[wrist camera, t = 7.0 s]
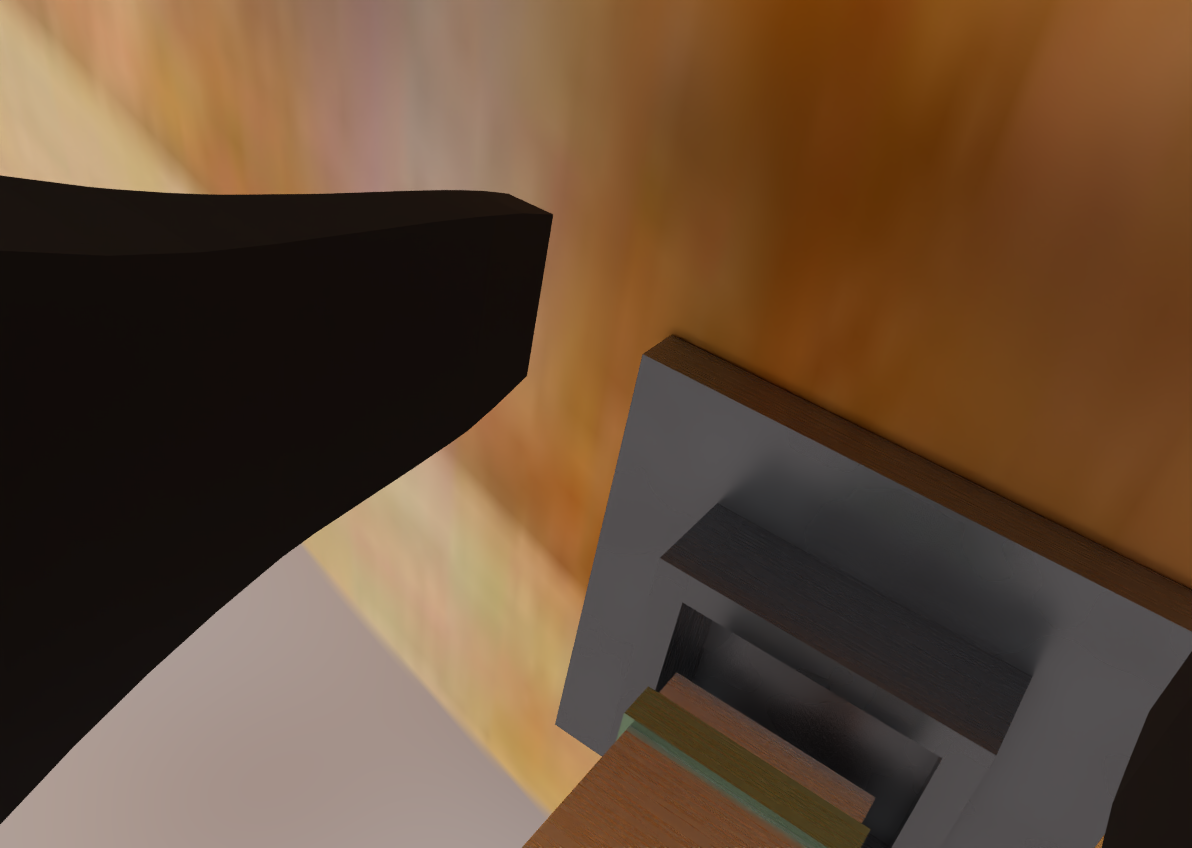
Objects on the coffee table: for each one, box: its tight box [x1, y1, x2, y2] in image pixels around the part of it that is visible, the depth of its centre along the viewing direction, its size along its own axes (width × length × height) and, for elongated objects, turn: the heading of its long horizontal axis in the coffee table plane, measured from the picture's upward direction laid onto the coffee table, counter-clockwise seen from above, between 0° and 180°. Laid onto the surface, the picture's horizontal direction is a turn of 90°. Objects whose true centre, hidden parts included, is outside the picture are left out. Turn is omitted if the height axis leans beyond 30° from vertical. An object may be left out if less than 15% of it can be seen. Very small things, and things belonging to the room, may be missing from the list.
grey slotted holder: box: [555, 335, 1192, 848], centre depth 19 cm, size 10×10×5 cm
